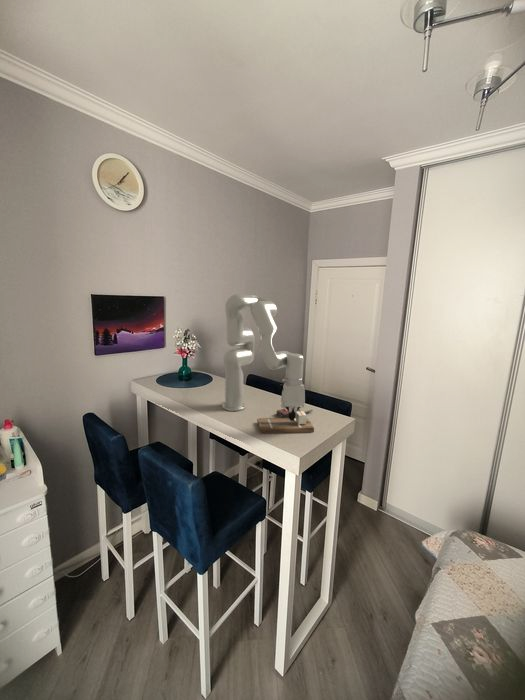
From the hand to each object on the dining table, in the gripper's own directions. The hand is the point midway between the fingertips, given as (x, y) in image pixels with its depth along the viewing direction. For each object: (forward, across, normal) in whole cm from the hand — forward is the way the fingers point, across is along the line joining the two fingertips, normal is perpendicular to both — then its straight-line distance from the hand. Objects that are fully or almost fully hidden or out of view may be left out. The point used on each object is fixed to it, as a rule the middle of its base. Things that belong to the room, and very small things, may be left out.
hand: (291, 419), depth 142 cm
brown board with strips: (+4, -3, 0) cm, 5 cm away
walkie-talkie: (+4, +5, +16) cm, 17 cm away
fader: (+1, +4, 0) cm, 5 cm away
